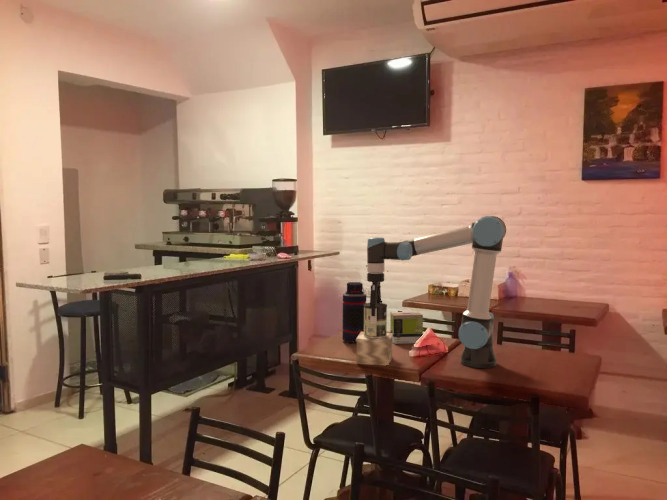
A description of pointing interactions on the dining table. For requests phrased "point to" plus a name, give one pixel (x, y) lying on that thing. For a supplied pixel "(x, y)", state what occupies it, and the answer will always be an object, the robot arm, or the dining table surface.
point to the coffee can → (381, 326)
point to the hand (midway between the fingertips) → (375, 320)
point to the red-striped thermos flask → (353, 311)
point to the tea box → (406, 327)
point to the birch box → (374, 350)
